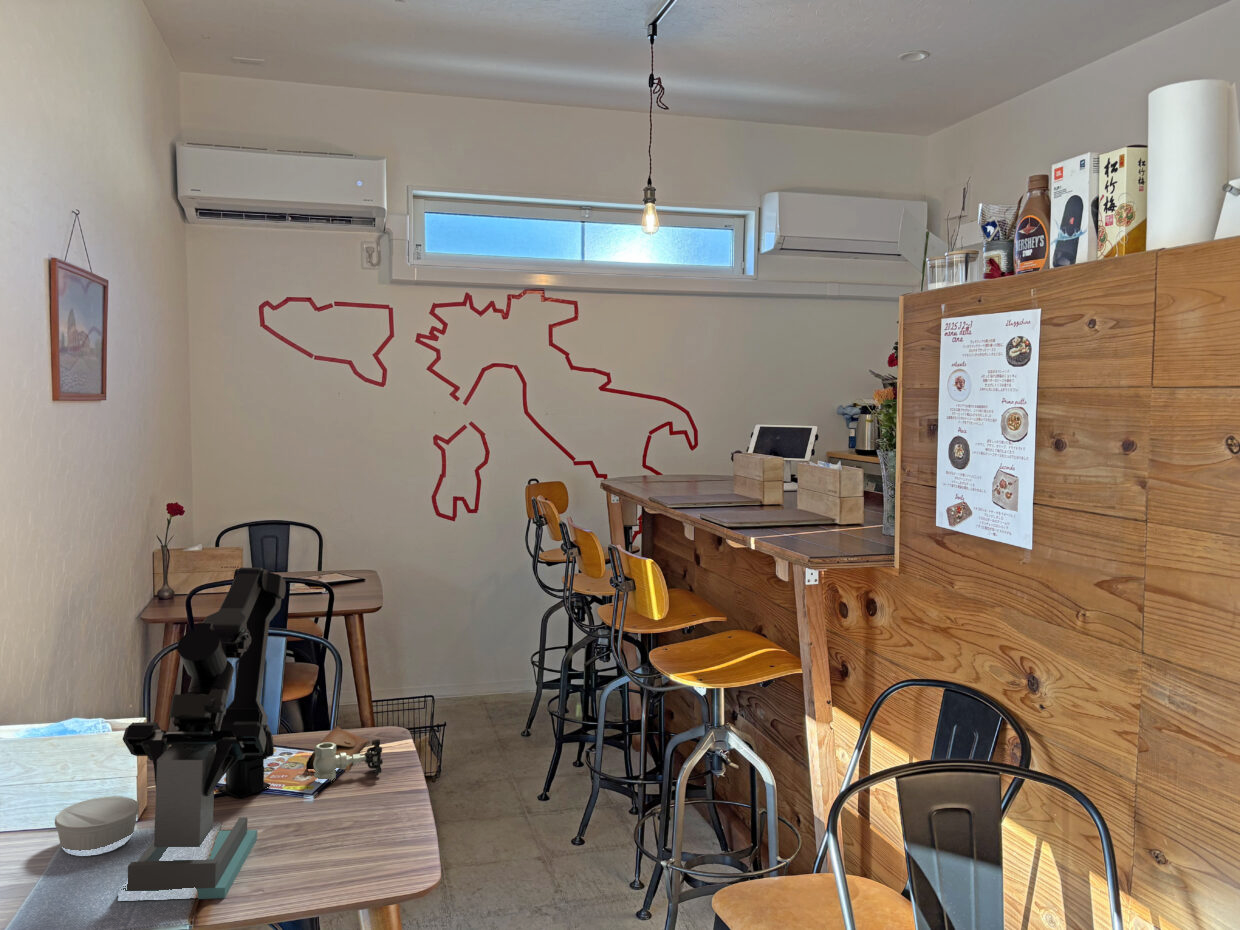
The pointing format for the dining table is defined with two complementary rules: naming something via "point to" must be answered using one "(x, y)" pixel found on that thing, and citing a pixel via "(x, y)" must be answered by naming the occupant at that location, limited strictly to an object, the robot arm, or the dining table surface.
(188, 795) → the lock block
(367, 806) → the dining table surface
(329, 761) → the valve
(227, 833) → the dock plate
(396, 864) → the dining table surface
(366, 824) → the dining table surface
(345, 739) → the sunglasses case
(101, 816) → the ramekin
